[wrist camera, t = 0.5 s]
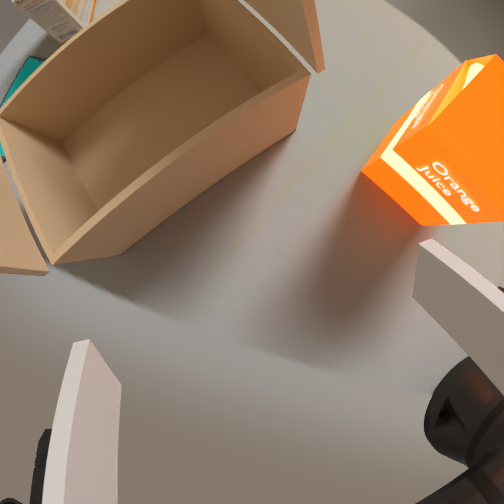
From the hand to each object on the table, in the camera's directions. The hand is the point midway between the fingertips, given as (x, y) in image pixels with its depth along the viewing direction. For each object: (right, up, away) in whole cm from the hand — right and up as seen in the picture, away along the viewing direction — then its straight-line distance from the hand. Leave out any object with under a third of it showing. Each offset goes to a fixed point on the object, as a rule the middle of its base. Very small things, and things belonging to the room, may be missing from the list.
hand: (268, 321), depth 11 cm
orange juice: (+16, +11, +18) cm, 27 cm away
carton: (-10, +15, +19) cm, 26 cm away
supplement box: (-25, +35, +19) cm, 47 cm away
